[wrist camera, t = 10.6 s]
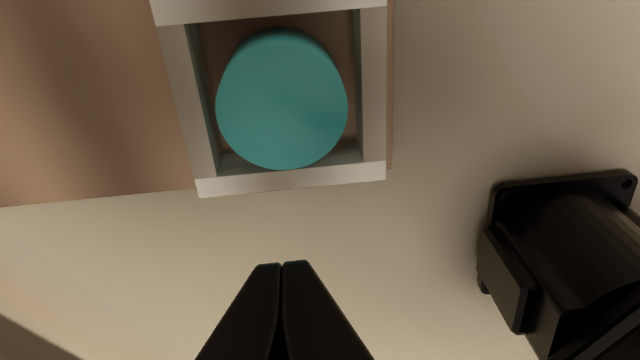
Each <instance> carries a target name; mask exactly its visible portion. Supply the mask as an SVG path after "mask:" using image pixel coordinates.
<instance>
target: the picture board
mask: <svg viewBox="0 0 640 360" xmlns="http://www.w3.org/2000/svg"><path fill="white" fill-rule="evenodd" d="M393 23H394V0H0V207H8V206H19V205H29V204H39V203H49V202H59V201H69V200H79V199H89V198H99V197H109V196H119V195H129V194H139V193H150V192H160V191H170V190H180V189H190V188H197V192H198V196H199V198H209V197H219V196H229V195H239V194H249V193H259V192H269V191H279V190H289V189H299V188H309V187H319V186H329V185H339V184H349V183H359V182H369V181H379V180H386V169H391V165H392V94H393ZM271 27H291V28H295V29H299V30H301V31H304V32H306V33H308V34H310V35H312V36H313V37H315V38H316V39H317V40H319V41H320V42H321V43H322V44H323V45H324V46H325V47H326V49H327V50H328V51H329V52H330V54H331V56H332V58H333V60H334V62H335V64H336V67H337V70H338V72H339V75H340V78H341V80H342V83H343V86H344V89H345V92H346V96H347V102H348V116H347V122H346V125H345V128H344V131H343V133H342V135H341V137H340V139H339V140H338V142H337V144H336V145H335V146H334V147H333V148H332V150H330V151H329V152H328V153H327V154H326V155H325V156H324V157H322V158H321V159H319V160H318V161H316V162H314V163H312V164H310V165H307V166H304V167H301V168H297V169H291V170H274V169H268V168H264V167H261V166H258V165H255V164H253V163H251V162H249V161H247V160H246V159H244V158H242V157H241V156H240V155H239V154H237V153H236V152H235V151H234V150H233V149H232V148H231V147H230V146H229V144H228V143H227V142H226V140H225V139H224V137H223V135H222V133H221V131H220V129H219V126H218V123H217V119H216V112H215V101H216V95H217V91H218V88H219V85H220V82H221V79H222V77H223V74H224V71H225V68H226V66H227V63H228V61H229V59H230V56H231V54H232V53H233V51H234V50H235V48H236V47H237V46H238V45H239V44H240V43H241V42H242V41H243V40H244V39H245V38H247V37H248V36H250V35H251V34H253V33H255V32H257V31H260V30H263V29H266V28H271Z"/></svg>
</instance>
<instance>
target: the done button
mask: <svg viewBox="0 0 640 360" xmlns="http://www.w3.org/2000/svg"><path fill="white" fill-rule="evenodd" d="M215 112H216V119H217V123H218V126H219V129H220V131H221V133H222V135H223V137H224V139H225V140H226V142H227V143H228V144H229V146H230V147H231V148H232V149H233V150H234V151H235V152H236V153H237V154H239V155H240V156H241V157H242V158H244V159H246V160H247V161H249V162H251V163H253V164H255V165H258V166H261V167H264V168H268V169H274V170H291V169H297V168H301V167H304V166H307V165H310V164H312V163H314V162H316V161H318V160H319V159H321V158H322V157H324V156H325V155H326V154H327V153H328V152H329V151H330V150H332V148H333V147H334V146H335V145H336V144H337V142H338V140H339V139H340V137H341V135H342V133H343V131H344V128H345V125H346V122H347V116H348V102H347V96H346V92H345V89H344V86H343V83H342V80H341V78H340V75H339V72H338V70H337V67H336V64H335V62H334V60H333V58H332V56H331V54H330V52H329V51H328V50H327V49H326V47H325V46H324V45H323V44H322V43H321V42H320V41H319V40H317V39H316V38H315V37H313V36H312V35H310V34H308V33H306V32H304V31H301V30H299V29H295V28H291V27H271V28H266V29H263V30H260V31H257V32H255V33H253V34H251V35H250V36H248V37H247V38H245V39H244V40H243V41H242V42H241V43H240V44H239V45H238V46H237V47H236V48H235V50H234V51H233V53H232V54H231V56H230V59H229V61H228V63H227V66H226V68H225V71H224V74H223V77H222V79H221V82H220V85H219V88H218V91H217V95H216V101H215Z"/></svg>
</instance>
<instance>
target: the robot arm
mask: <svg viewBox="0 0 640 360" xmlns="http://www.w3.org/2000/svg"><path fill="white" fill-rule="evenodd" d="M624 181H625V182H624ZM622 182H624V183H622ZM637 183H638V179H637V177H636V176H635V175H634V174H632V173H631V172H629V171H628V170H621V171H611V172H601V173H591V174H581V175H571V176H561V177H551V178H541V179H532V180H522V181H512V182H503V183H499V184H498V185H496V186H495V187H494V188H493V189H492V192H491V197H490V204H489V211H488V217H487V224H486V226H485V227H484V228H483V230H482V233H481V240H480V247H479V254H478V260H477V267H476V268H477V271H478V273H479V276H478V286H479V288H480V290H481V292H482V293H484V294H491V296H492V298H493V300H494V302H495V303H496V305H497V307H498V309H499V311H500V312H501V314H502V316H503V318H504V320H505V321H506V323H507V325H508V327H509V329H510V330H511V331H512V332H513V333H514V334H515V335H525V337H526V338H527V340H528V342H529V343H530V345H531V347H532V349H533V350H534V352H535V354H536V355H537V357H538V359H539V360H640V216H638V215H637V214H636V213H635V212H634V211H632V210H631V209H630V208H629V206H630V203H631V200H632V197H633V195H634V192H635V189H636V186H637ZM504 192H507V194H506V195H504V196H501V194H503V193H504ZM195 360H374V358H373V357H372V355H371V354H370V352H369V351H368V349H367V348H366V346H365V345H364V343H363V342H362V340H361V339H360V337H359V336H358V334H357V333H356V331H355V330H354V328H353V327H352V326H351V324H350V323H349V321H348V320H347V318H346V317H345V315H344V314H343V312H342V311H341V309H340V308H339V306H338V305H337V303H336V302H335V300H334V299H333V297H332V296H331V294H330V293H329V291H328V290H327V288H326V287H325V285H324V284H323V283H322V281H321V280H320V278H319V277H318V275H317V274H316V272H315V271H314V269H313V268H312V266H311V265H310V263H309V262H308V261H306V260H296V261H287V262H284V263H283V265H281V264H280V263H268V264H260V265H257V266H256V267H255V268H254V270H253V271H252V273H251V274H250V276H249V277H248V279H247V280H246V282H245V284H244V285H243V287H242V288H241V290H240V291H239V293H238V294H237V296H236V297H235V299H234V300H233V302H232V303H231V305H230V307H229V308H228V310H227V311H226V313H225V314H224V316H223V317H222V319H221V320H220V322H219V323H218V325H217V326H216V328H215V330H214V331H213V333H212V334H211V336H210V337H209V339H208V340H207V342H206V343H205V345H204V346H203V348H202V349H201V351H200V352H199V354H198V356H197V357H196V359H195Z"/></svg>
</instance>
